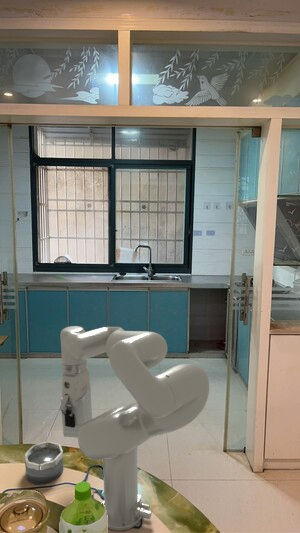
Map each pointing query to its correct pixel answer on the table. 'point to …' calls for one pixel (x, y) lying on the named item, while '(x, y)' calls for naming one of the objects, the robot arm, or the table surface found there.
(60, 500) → the table surface
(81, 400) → the supplement box
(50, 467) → the bowl
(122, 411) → the robot arm
